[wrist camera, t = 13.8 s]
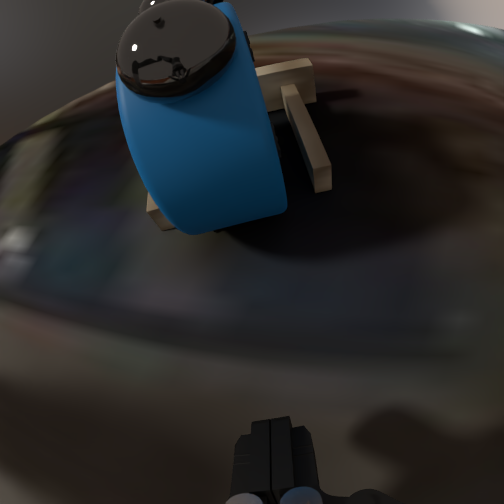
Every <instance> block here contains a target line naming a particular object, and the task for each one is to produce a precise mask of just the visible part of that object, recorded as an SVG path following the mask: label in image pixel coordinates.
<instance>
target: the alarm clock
mask: <svg viewBox="0 0 504 504" xmlns="http://www.w3.org/2000/svg"><path fill="white" fill-rule="evenodd" d="M249 44H250V41H249V38H248V36H247V32H246V31H243V30H242V27H241V24H240V22H239V19H238V17H237V14H236V12H235V10H234V8H233V6H232V5H231V4H230V3H227V2H223V0H143V2H142V4H141V6H140V8H139V13H138V16H137V17H136V18H135V19H134V20H133V21H132V22H131V23H130V25H129V26H128V27H127V28H126V30H125V31H124V33H123V35H122V36H121V38H120V41H119V44H118V47H117V51H116V60H115V61H116V91H117V100H118V107H119V112H120V117H121V122H122V126H123V129H124V133H125V137H126V140H127V143H128V146H129V149H130V152H131V155H132V157H133V160H134V162H135V165H136V167H137V170H138V172H139V174H140V176H141V178H142V180H143V183H144V185H145V186H146V188H147V190H148V192H149V194H150V196H151V197H152V199H153V200H154V202H155V204H156V205H157V207H158V208H159V209H160V211H161V212H162V213H163V215H164V216H165V217H166V218H167V219H168V220H169V221H170V222H171V223H172V224H173V226H175V227H176V228H177V229H178V230H180V231H182V232H184V233H186V234H189V235H198V234H201V233H205V232H209V231H214V232H218V229H221V228H225V227H229V226H233V225H237V224H241V223H245V222H249V221H253V220H257V219H261V218H265V217H269V216H273V215H277V214H281V213H283V212H285V210H286V209H287V195H286V190H285V184H284V180H283V175H282V170H281V166H280V161H279V158H281V157H282V156H281V150H280V147H279V144H278V142H277V141H278V137H277V136H276V135H275V134H276V132H275V127H274V125H273V122H270V120H269V116H268V113H267V109H266V105H265V102H264V98H263V94H262V91H261V87H260V84H259V80H258V77H257V74H256V70H255V67H254V64H253V62H254V61H255V60H254V57H253V51H252V49H251V48H250V45H249Z"/></svg>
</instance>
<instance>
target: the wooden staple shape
mask: <svg viewBox="0 0 504 504" xmlns="http://www.w3.org/2000/svg"><path fill="white" fill-rule="evenodd" d="M255 70H256V74H257V77H258V80H259V84H260V87H261V91H262V94H263V98H264V102H265V105H266V109H267V112H270V111H274V110H278V109H283V108H285V111H286V113H287V116H288V118H289V121H290V124H291V126H292V129H293V132H294V134H295V137H296V140H297V142H298V145H299V148H300V151H301V153H302V156H303V159H304V162H305V165H306V168H307V170H308V173H309V176H310V179H311V182H312V185H313V188H314V191H315V193H318V192H323V191H327V190H332V173H331V163H330V161H329V158H328V156H327V154H326V151H325V149H324V147H323V144H322V142H321V140H320V138H319V135H318V133H317V131H316V129H315V126H314V124H313V122H312V120H311V118H310V116H309V113H308V111H307V109H306V107H305V105H304V104H308V103H313V102H317V101H316V91H315V82H314V74H313V65H312V64H311V62H310V61H309V59H308V58H304V59H298V60H293V61H287V62H282V63H277V64H272V65H268V66H263V67H259V68H255ZM147 213H148V214H149V215H150V217H151V218H152V219H153V220H154V222H155V223H156V224H157V225H158V226H159V228H160V229H161V230H162V231H164V230H168V229H171V228H175V226H173V224H172V223H171V222H170V221H169V220H168V219H167V218H166V217H165V216H164V215H163V213H162V212H161V211H160V209H159V208H158V207H157V205H156V204H155V202H154V200H153V199H152V197H151V196H150V194H149V192H148V200H147Z"/></svg>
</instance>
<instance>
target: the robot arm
mask: <svg viewBox="0 0 504 504" xmlns="http://www.w3.org/2000/svg"><path fill="white" fill-rule="evenodd" d="M234 456H235V457H234V465H233V473H232V483H231V493H230V497H229V499H228V500H227V502H226V503H225V504H404V503H402V502H400V501H398V500H396V499H394V498H392V497H390V496H388V495H386V494H384V493H382V492H380V491H377V490H374V489H364V490H360V491H358V492H355V493H354V494H352V495H351V496H350V497H336V496H331V495H328V494H326V493H324V492H323V491H322V490H321V489H320V486H319V479H318V473H317V466H316V459H315V453H314V448H313V443H312V438H311V434H310V432H309V431H308V430H307V429H306V428H305V426H299V427H294V428H292V424H291V420H290V417H289V416H286V417H280V418H274V419H271V420H270V419H268V420H261V421H254V422H252V425H251V434H248V435H241V436H240V438H239V440H238V441H237V443H236V445H235V453H234Z"/></svg>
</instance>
